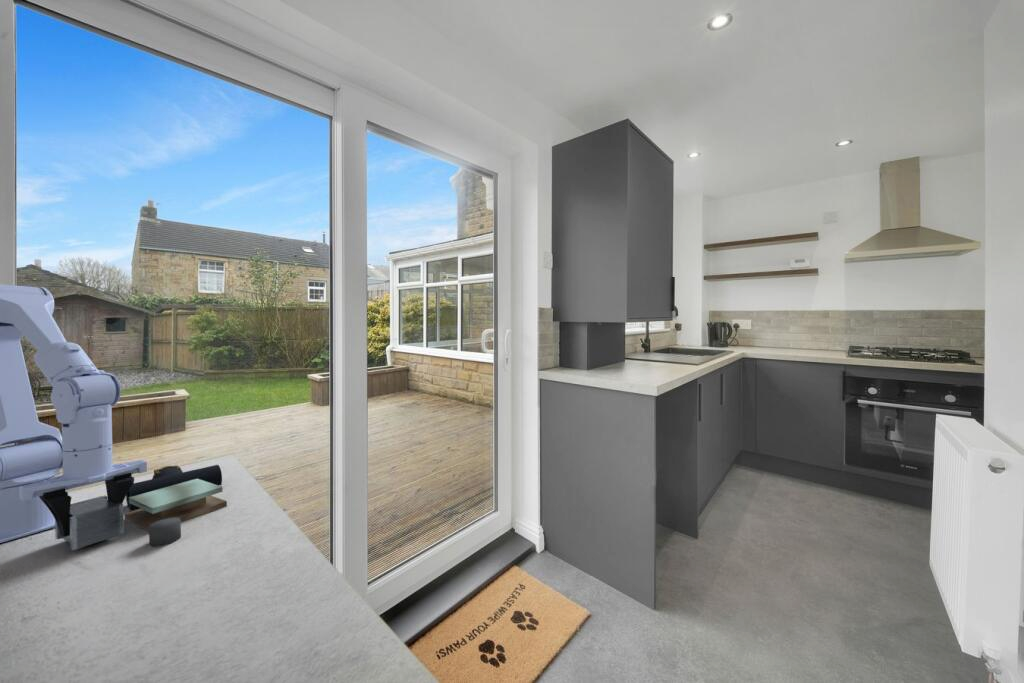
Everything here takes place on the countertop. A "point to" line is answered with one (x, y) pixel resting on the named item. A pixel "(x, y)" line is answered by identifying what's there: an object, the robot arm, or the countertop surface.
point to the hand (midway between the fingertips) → (89, 527)
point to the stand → (175, 503)
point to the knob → (164, 532)
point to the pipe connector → (174, 479)
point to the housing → (93, 522)
